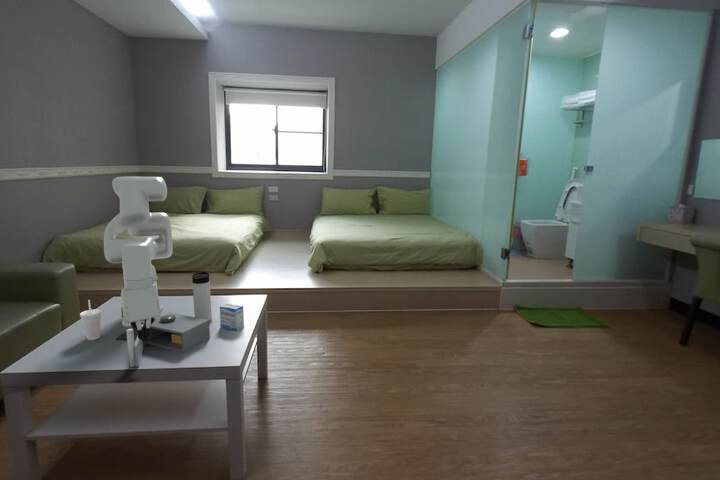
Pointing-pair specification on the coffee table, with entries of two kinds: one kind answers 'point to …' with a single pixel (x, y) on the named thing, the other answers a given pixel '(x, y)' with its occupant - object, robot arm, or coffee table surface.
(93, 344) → the coffee table surface
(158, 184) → the robot arm
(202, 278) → the travel mug
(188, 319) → the cabinet body
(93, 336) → the smoothie
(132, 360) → the side door
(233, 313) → the medicine box
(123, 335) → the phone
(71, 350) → the coffee table surface
